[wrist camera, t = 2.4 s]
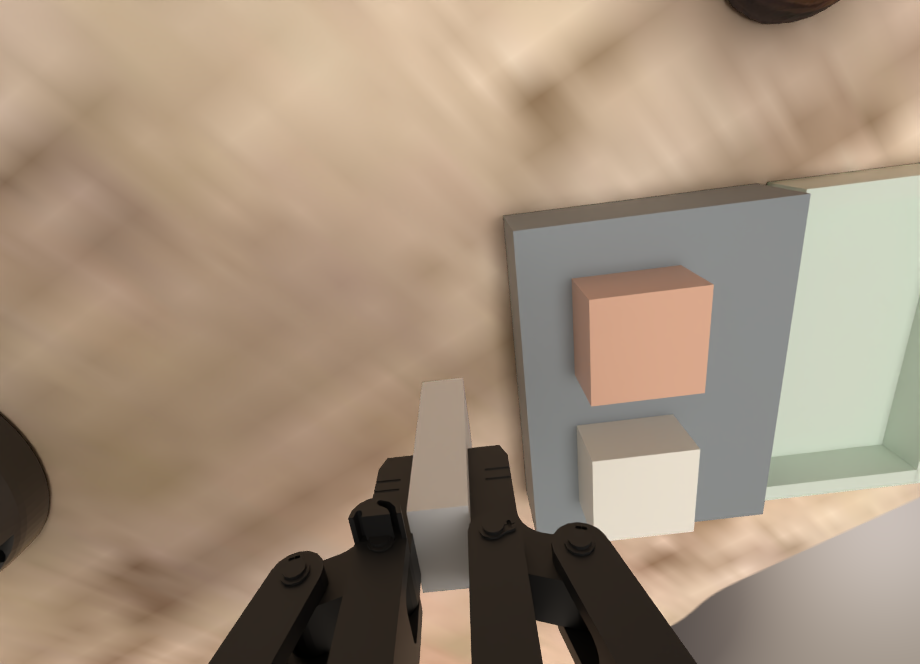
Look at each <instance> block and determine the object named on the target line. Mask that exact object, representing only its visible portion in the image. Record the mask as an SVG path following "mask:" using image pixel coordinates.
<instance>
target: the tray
mask: <svg viewBox="0 0 920 664" xmlns="http://www.w3.org/2000/svg"><path fill="white" fill-rule="evenodd" d="M767 185H768V186H773V187H778V188H784V189H789V190H794V191H799V192H805V193H810V194H811V196H810V203H809V209H808V216H807V223H806V229H805V236H804V243H803V249H802V256H801V263H800V269H799V276H798V283H797V289H796V296H795V302H794V309H793V316H792V322H791V329H790V336H789V342H788V349H787V356H786V362H785V369H784V376H783V382H782V389H781V396H780V402H779V409H778V416H777V422H776V429H775V435H774V442H773V449H772V455H771V462H770V469H769V475H768V482H767V489H766V495H765V500H774V499H782V498H791V497H800V496H809V495H818V494H826V493H835V492H844V491H853V490H861V489H870V488H879V487H888V486H897V485H905V484H914V483H920V163H915V164H908V165H900V166H892V167H884V168H876V169H868V170H860V171H852V172H844V173H837V174H829V175H821V176H813V177H805V178H797V179H789V180H781V181H773V182H767Z"/></svg>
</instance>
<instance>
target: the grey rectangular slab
mask: <svg viewBox="0 0 920 664" xmlns="http://www.w3.org/2000/svg"><path fill="white" fill-rule="evenodd" d="M810 196H811V194H810V193H805V192H799V191H794V190H789V189H784V188H778V187H773V186H768V185H762V184H750V185H742V186H734V187H726V188H718V189H710V190H702V191H695V192H687V193H679V194H671V195H663V196H655V197H647V198H639V199H631V200H624V201H616V202H608V203H600V204H592V205H584V206H576V207H568V208H560V209H553V210H545V211H537V212H529V213H521V214H513V215H505V216H503V220H504V232H505V244H506V255H507V267H508V279H509V290H510V302H511V314H512V326H513V337H514V349H515V361H516V372H517V384H518V396H519V407H520V419H521V431H522V442H523V454H524V466H525V477H526V489H527V496H528V500H529V505H530V509H531V514H532V518H533V523H534V527H535V531H539V532H542V533H548V534H554V533H555V532H556V530H557V529H558V528H559V527H561V526H563V525H565V524H567V523H574V522H581V523H587V521H586V519H585V516H584V513H583V510H582V507H581V505H580V502H579V482H578V452H577V426H578V425H586V424H595V423H603V422H612V421H620V420H629V419H637V418H646V417H654V416H663V415H671V414H673V415H674V416H675V418H676V419H677V420H678V422H679V423H680V424H681V425H682V427H683V428H684V429H685V430H686V432H687V433H688V434H689V436H690V437H691V438H692V439H693V441H694V442H695V443H696V444H697V446H698V447H699V448H700V459H699V472H698V484H697V496H696V508H695V520H694V522H697V521H706V520H715V519H724V518H733V517H741V516H750V515H759V514H763V509H764V502H765V495H766V489H767V482H768V475H769V469H770V462H771V455H772V449H773V442H774V435H775V429H776V422H777V416H778V409H779V402H780V396H781V389H782V382H783V376H784V369H785V362H786V356H787V349H788V342H789V336H790V329H791V322H792V316H793V309H794V302H795V296H796V289H797V283H798V276H799V269H800V263H801V256H802V249H803V243H804V236H805V229H806V223H807V216H808V209H809V203H810ZM677 265H682V266H683V267H685V268H687V269H688V270H690V271H692V272H693V273H695V274H697V275H698V276H700V277H702V278H704V279H705V280H707V281H709V282H710V283H712V284H714V289H713V301H712V313H711V326H710V338H709V350H708V362H707V374H706V386H705V393H701V394H693V395H684V396H676V397H667V398H659V399H650V400H642V401H633V402H625V403H617V404H608V405H600V406H591V405H590V403H589V401H588V399H587V397H586V395H585V393H584V391H583V390H582V388H581V386H580V384H579V382H578V380H577V378H576V376H575V365H574V335H573V306H572V278H580V277H588V276H597V275H605V274H613V273H621V272H629V271H637V270H645V269H653V268H661V267H669V266H677Z"/></svg>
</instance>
